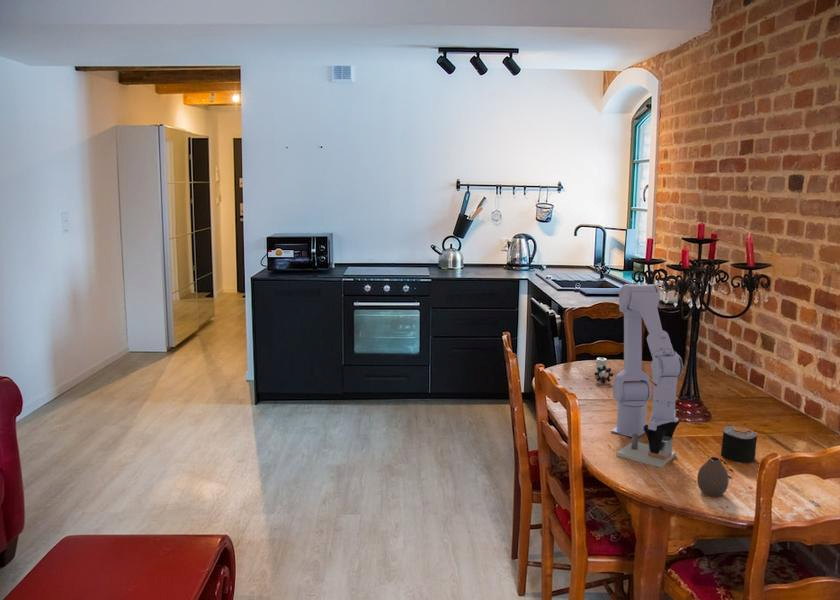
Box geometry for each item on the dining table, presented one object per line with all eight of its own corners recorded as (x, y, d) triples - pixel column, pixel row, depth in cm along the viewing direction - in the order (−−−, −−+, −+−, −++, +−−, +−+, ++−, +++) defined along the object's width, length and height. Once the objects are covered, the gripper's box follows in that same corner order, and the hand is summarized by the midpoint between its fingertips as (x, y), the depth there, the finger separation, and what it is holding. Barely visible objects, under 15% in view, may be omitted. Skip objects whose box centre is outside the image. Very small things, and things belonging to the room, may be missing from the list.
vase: (691, 492, 172) (694, 458, 171) (703, 484, 177) (707, 450, 176) (719, 502, 168) (723, 467, 166) (732, 493, 172) (735, 459, 171)
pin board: (633, 444, 203) (634, 427, 202) (675, 455, 195) (677, 437, 194) (616, 455, 194) (618, 438, 193) (660, 467, 187) (662, 449, 186)
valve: (591, 373, 273) (594, 382, 262) (592, 356, 272) (595, 365, 260) (608, 374, 272) (612, 384, 261) (610, 358, 271) (613, 366, 259)
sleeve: (654, 450, 195) (656, 433, 195) (671, 455, 193) (673, 437, 192) (648, 455, 192) (649, 437, 191) (664, 460, 189) (666, 442, 188)
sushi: (728, 448, 201) (731, 421, 199) (759, 457, 195) (762, 429, 193) (715, 456, 195) (718, 428, 194) (746, 465, 189) (749, 436, 188)
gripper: (668, 409, 182) (664, 460, 184) (688, 396, 193) (684, 444, 195) (641, 403, 186) (638, 453, 188) (662, 391, 197) (659, 438, 199)
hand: (659, 448), depth 192 cm, fingers open, 7 cm apart
